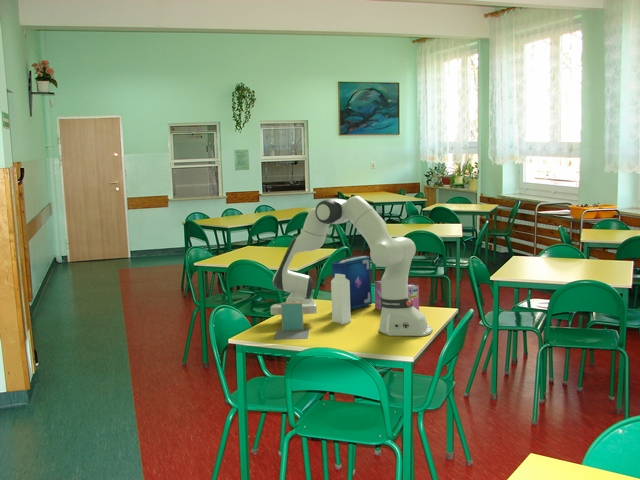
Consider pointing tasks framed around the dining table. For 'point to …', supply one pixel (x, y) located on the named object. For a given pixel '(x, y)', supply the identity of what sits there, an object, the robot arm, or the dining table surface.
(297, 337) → the mat
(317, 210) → the robot arm
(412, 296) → the gum box
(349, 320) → the milk
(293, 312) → the tile
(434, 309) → the dining table surface
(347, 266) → the book
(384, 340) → the dining table surface
